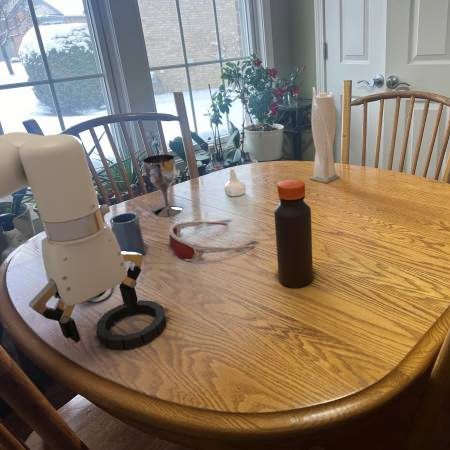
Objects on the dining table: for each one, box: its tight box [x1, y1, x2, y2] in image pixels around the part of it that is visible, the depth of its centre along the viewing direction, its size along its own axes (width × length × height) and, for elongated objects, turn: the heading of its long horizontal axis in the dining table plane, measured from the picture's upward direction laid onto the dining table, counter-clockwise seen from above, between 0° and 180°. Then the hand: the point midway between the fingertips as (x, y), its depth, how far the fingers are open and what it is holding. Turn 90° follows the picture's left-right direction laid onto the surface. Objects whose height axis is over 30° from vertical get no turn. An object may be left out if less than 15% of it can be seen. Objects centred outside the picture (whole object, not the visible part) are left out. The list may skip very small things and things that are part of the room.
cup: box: [109, 212, 147, 257], centre depth 97 cm, size 6×6×9 cm
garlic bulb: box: [224, 167, 247, 197], centre depth 129 cm, size 6×6×8 cm
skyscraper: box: [309, 86, 341, 184], centre depth 135 cm, size 8×8×28 cm
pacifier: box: [86, 287, 113, 303], centre depth 83 cm, size 7×6×6 cm
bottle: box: [273, 179, 314, 289], centre depth 82 cm, size 7×7×20 cm
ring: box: [95, 299, 168, 351], centre depth 74 cm, size 11×11×2 cm
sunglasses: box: [168, 220, 256, 262], centre depth 101 cm, size 17×17×5 cm
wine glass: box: [142, 154, 182, 218], centre depth 117 cm, size 8×8×15 cm
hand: (103, 321), depth 69 cm, fingers open, 9 cm apart
